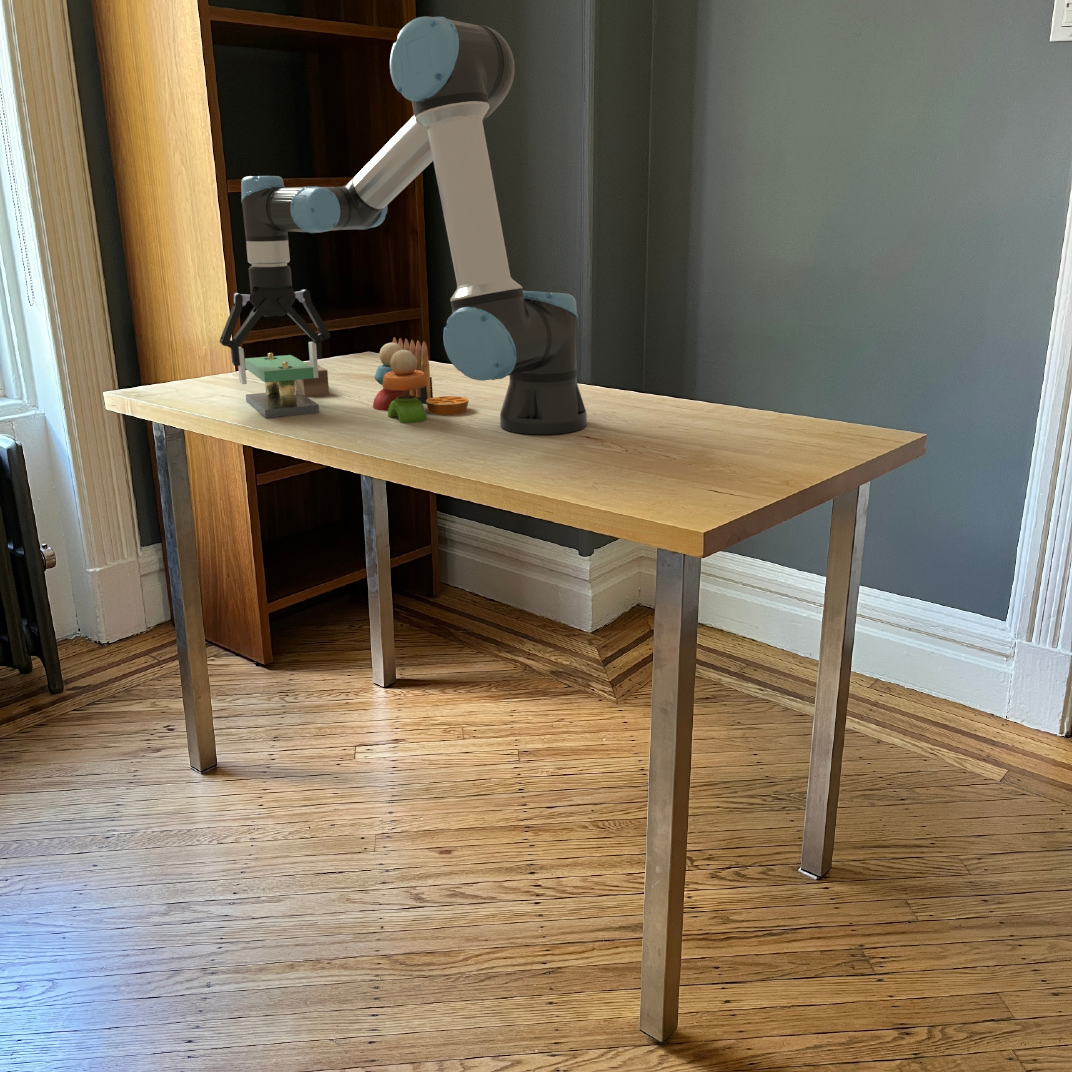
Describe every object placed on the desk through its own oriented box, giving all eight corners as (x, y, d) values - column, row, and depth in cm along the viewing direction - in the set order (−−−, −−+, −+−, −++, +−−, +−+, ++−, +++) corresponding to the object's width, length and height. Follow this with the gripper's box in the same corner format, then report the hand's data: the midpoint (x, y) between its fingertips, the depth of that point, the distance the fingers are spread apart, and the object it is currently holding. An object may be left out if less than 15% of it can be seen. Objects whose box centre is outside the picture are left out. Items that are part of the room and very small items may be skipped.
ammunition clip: (433, 403, 202) (431, 341, 199) (426, 405, 201) (423, 342, 197) (398, 396, 209) (395, 336, 206) (390, 397, 208) (387, 337, 204)
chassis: (319, 412, 195) (315, 361, 192) (265, 418, 191) (260, 366, 188) (296, 397, 209) (292, 349, 206) (246, 402, 205) (241, 353, 202)
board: (314, 378, 193) (313, 367, 192) (265, 382, 189) (264, 371, 188) (291, 365, 207) (290, 354, 207) (245, 368, 203) (244, 358, 203)
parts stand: (329, 394, 212) (327, 370, 210) (304, 397, 210) (302, 372, 208) (313, 385, 222) (311, 361, 220) (290, 387, 220) (288, 363, 218)
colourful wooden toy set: (480, 413, 194) (478, 345, 190) (396, 425, 185) (393, 354, 181) (433, 398, 208) (430, 335, 204) (353, 409, 199) (349, 342, 195)
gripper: (330, 260, 200) (337, 371, 207) (195, 266, 190) (208, 382, 196) (341, 263, 194) (349, 377, 200) (202, 268, 183) (215, 389, 190)
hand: (279, 380), depth 198 cm, fingers open, 13 cm apart
